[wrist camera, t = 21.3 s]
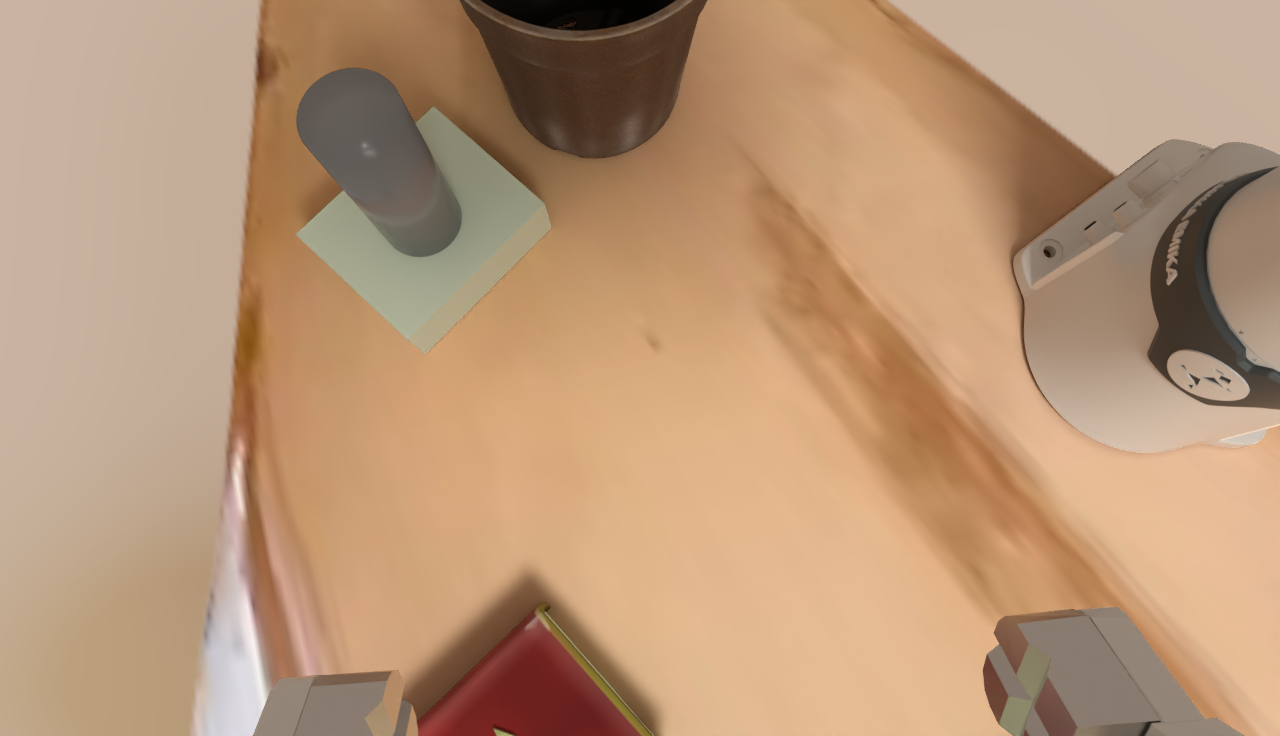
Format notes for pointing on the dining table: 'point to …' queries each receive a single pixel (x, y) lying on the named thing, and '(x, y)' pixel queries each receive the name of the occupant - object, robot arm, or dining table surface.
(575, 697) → the hardcover book
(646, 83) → the plant pot
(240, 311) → the dining table surface
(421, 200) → the slate jar
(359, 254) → the block
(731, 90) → the dining table surface
